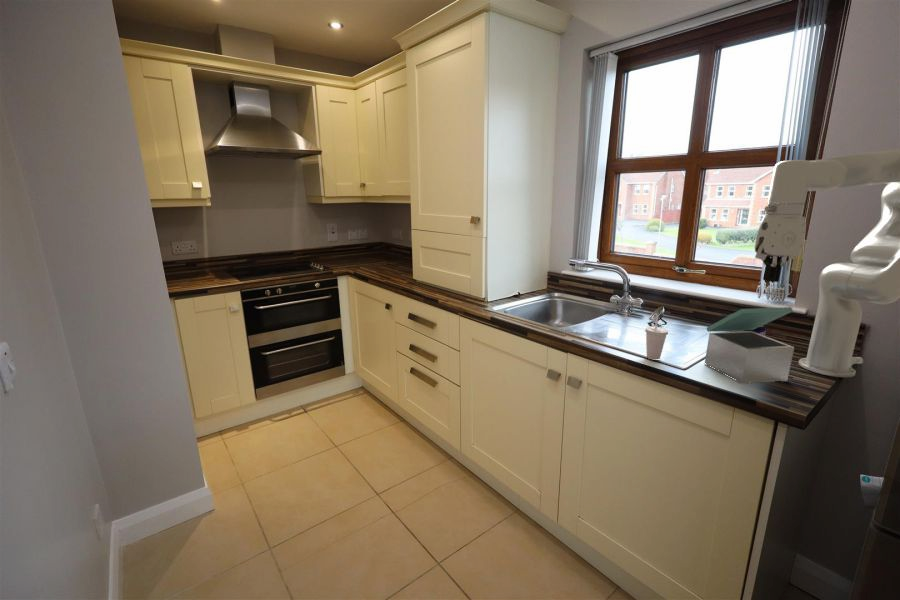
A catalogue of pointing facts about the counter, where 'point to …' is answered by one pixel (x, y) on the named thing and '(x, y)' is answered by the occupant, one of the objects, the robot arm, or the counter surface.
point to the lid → (749, 319)
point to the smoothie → (655, 340)
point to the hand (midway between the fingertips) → (770, 280)
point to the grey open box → (749, 356)
